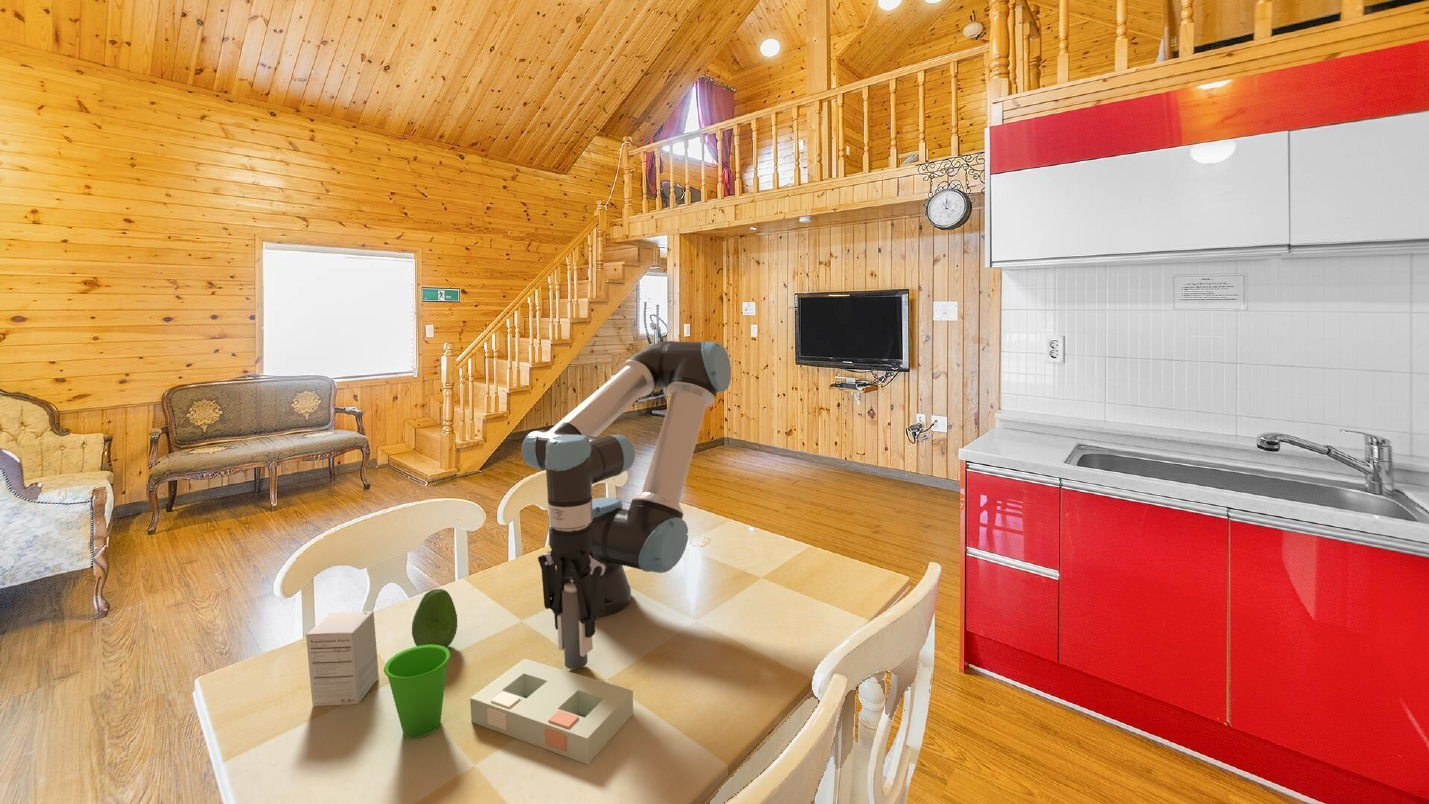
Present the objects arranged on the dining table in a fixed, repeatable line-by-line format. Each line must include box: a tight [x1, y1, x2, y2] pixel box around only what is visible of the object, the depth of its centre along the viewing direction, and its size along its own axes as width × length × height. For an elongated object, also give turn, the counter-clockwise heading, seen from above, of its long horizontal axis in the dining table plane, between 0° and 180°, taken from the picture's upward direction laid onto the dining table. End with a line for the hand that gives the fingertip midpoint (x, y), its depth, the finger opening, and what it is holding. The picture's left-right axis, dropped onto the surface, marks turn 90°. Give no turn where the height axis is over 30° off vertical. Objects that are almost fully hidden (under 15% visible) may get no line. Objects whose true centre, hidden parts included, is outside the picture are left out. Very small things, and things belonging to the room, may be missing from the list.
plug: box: [562, 580, 588, 670], centre depth 104 cm, size 4×4×15 cm
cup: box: [383, 645, 451, 739], centre depth 89 cm, size 9×9×11 cm
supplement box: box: [305, 610, 380, 707], centre depth 97 cm, size 7×7×13 cm
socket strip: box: [469, 658, 634, 765], centre depth 91 cm, size 22×12×4 cm, turn 66°
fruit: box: [411, 588, 458, 649], centre depth 110 cm, size 8×8×12 cm
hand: (575, 649), depth 105 cm, fingers closed on plug, 4 cm apart
